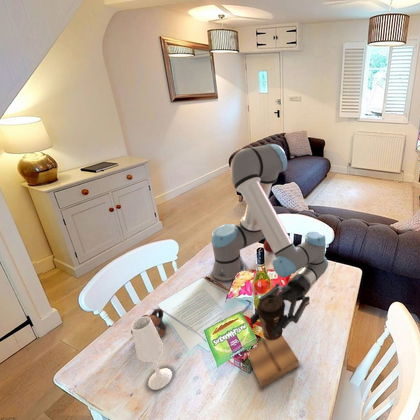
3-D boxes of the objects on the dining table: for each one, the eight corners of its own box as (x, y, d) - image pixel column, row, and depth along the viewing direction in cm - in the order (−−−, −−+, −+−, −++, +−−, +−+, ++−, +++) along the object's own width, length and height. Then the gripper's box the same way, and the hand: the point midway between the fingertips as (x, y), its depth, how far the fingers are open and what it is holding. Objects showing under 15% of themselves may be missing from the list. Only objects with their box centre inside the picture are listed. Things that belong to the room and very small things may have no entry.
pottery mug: (160, 345, 95) (141, 334, 90) (142, 348, 98) (123, 338, 93) (175, 313, 104) (159, 302, 99) (158, 316, 107) (142, 306, 102)
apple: (273, 256, 143) (272, 244, 139) (261, 252, 146) (260, 239, 143) (281, 249, 149) (281, 237, 145) (269, 245, 152) (269, 233, 149)
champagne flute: (166, 364, 88) (148, 309, 78) (176, 377, 84) (159, 322, 74) (144, 379, 83) (122, 324, 73) (153, 394, 79) (132, 338, 69)
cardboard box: (246, 354, 92) (245, 348, 90) (280, 337, 98) (279, 331, 97) (261, 388, 82) (261, 381, 80) (298, 366, 88) (298, 360, 87)
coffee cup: (272, 317, 93) (270, 288, 87) (291, 329, 88) (290, 299, 83) (254, 335, 86) (251, 305, 81) (273, 348, 82) (271, 317, 76)
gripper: (326, 301, 95) (291, 351, 77) (279, 281, 104) (237, 322, 86) (327, 284, 92) (291, 333, 74) (278, 265, 101) (235, 304, 83)
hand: (262, 327), depth 80 cm, fingers closed on coffee cup, 7 cm apart
